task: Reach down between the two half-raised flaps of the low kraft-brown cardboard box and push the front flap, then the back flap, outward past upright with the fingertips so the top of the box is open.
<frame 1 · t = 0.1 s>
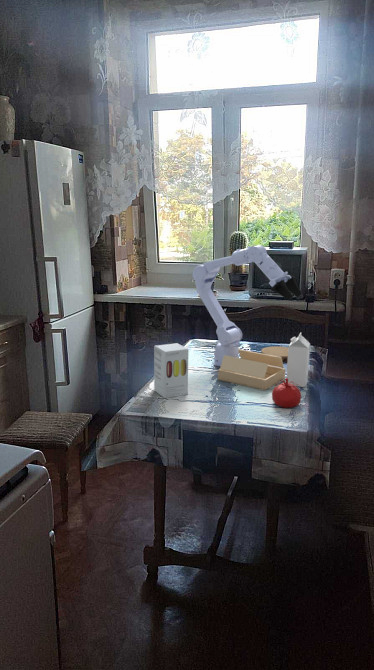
hand: (295, 296, 189), 32 cm above the table, tool tilted 50°, fingers open, 7 cm apart
wood log slice: (279, 358, 226), on the table
supplement box 2: (170, 393, 181), on the table
milk carton: (296, 383, 192), on the table
carton: (251, 379, 196), on the table
front flap: (243, 366, 189), point 7 cm above the table, hinge at 60.0°
supplement box: (299, 370, 208), on the table
pomegranate: (286, 405, 171), on the table
back flap: (260, 358, 199), point 7 cm above the table, hinge at 60.0°
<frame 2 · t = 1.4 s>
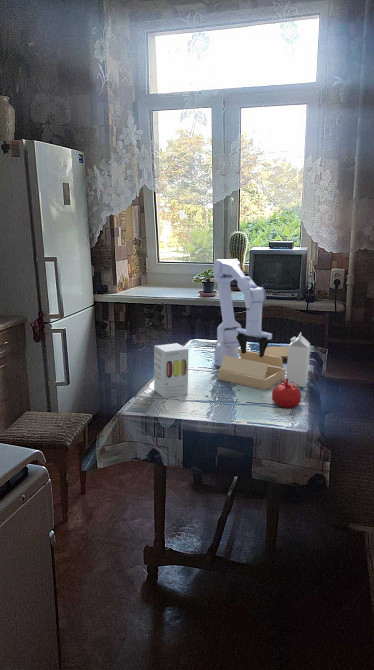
hand: (252, 354, 194), 10 cm above the table, tool pointing down, fingers open, 7 cm apart
nothing on the table moved.
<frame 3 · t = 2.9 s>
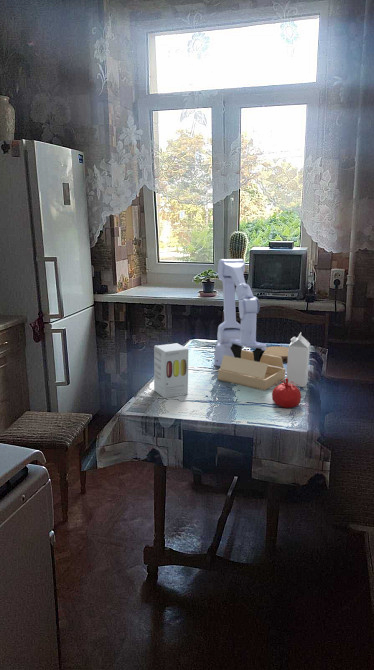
hand: (247, 365, 191), 6 cm above the table, tool pointing down
front flap: (243, 366, 189), point 7 cm above the table, hinge at 62.3°, touching gripper
everything else where it was.
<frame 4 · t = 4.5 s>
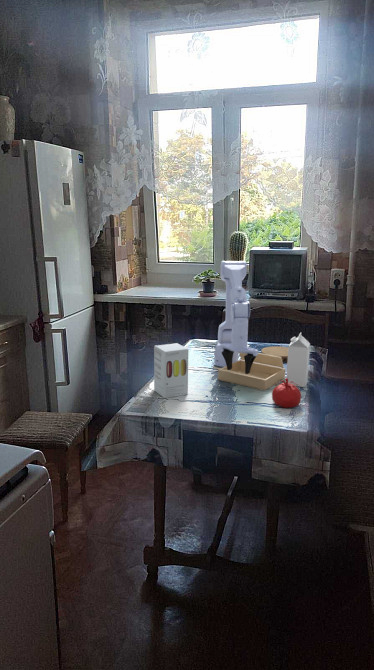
hand: (238, 371, 186), 6 cm above the table, tool pointing down, fingers open, 7 cm apart
front flap: (238, 372, 186), point 5 cm above the table, hinge at 159.1°
everything else where it was.
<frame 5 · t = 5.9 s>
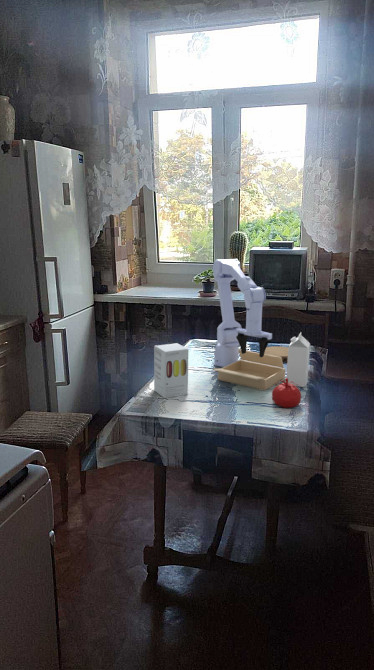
hand: (252, 354, 194), 10 cm above the table, tool pointing down, fingers open, 7 cm apart
front flap: (237, 373, 186), point 5 cm above the table, hinge at 167.3°
everything else where it was.
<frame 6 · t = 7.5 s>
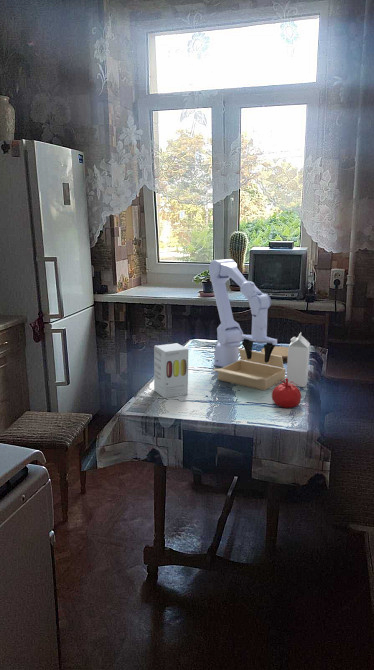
hand: (258, 360, 198), 7 cm above the table, tool pointing down
front flap: (237, 373, 186), point 5 cm above the table, hinge at 168.2°
back flap: (260, 357, 200), point 7 cm above the table, hinge at 65.0°, touching gripper
everything else where it was.
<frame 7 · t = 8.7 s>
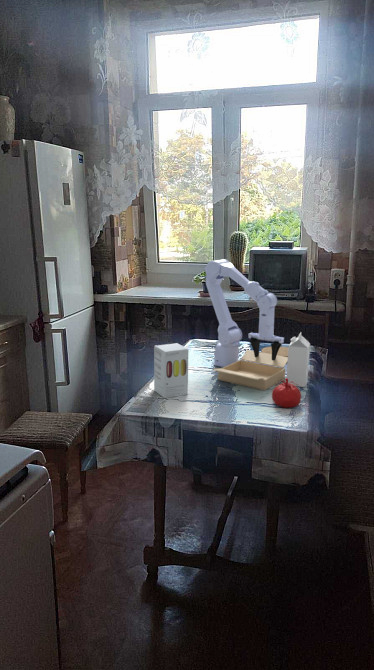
hand: (265, 358, 202), 6 cm above the table, tool pointing down
back flap: (264, 358, 203), point 6 cm above the table, hinge at 149.6°, touching gripper
everything else where it was.
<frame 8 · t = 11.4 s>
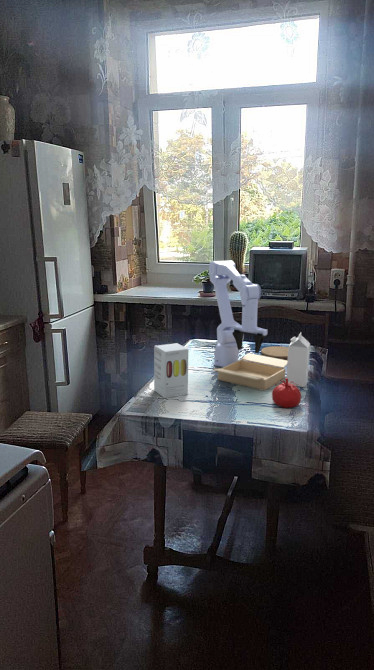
hand: (248, 350, 197), 10 cm above the table, tool pointing down, fingers open, 7 cm apart
back flap: (265, 360, 203), point 5 cm above the table, hinge at 167.4°
everything else where it was.
at the end: front flap at +168° (first picture: +60°); back flap at +167° (first picture: +60°) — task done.
